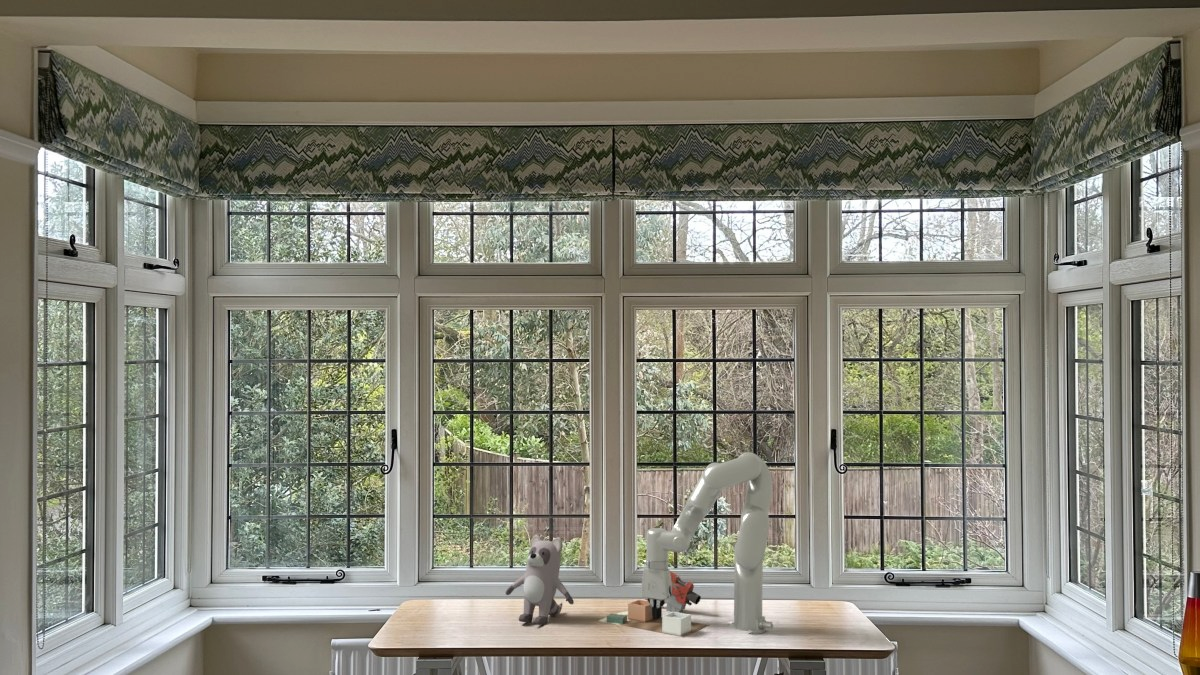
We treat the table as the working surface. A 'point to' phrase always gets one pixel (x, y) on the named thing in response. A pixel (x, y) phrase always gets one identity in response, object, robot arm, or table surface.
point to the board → (654, 625)
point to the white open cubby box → (676, 623)
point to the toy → (541, 581)
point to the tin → (617, 618)
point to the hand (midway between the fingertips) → (656, 618)
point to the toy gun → (681, 594)
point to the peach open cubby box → (640, 611)
